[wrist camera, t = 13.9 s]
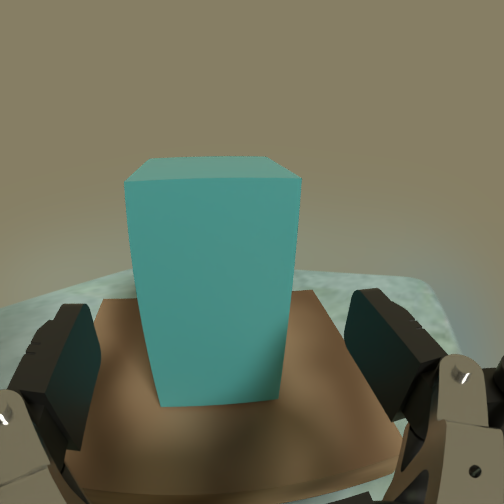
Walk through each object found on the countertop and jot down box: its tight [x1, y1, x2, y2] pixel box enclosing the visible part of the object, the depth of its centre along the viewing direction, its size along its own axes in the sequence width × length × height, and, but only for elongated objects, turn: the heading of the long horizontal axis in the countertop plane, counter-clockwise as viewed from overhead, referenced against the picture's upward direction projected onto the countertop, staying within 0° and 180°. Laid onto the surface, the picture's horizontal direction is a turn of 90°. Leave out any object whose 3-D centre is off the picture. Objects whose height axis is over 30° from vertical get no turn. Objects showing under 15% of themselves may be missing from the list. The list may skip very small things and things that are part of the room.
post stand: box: [64, 290, 403, 504], centre depth 16 cm, size 17×16×12 cm
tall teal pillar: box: [124, 156, 302, 407], centre depth 15 cm, size 6×6×11 cm
